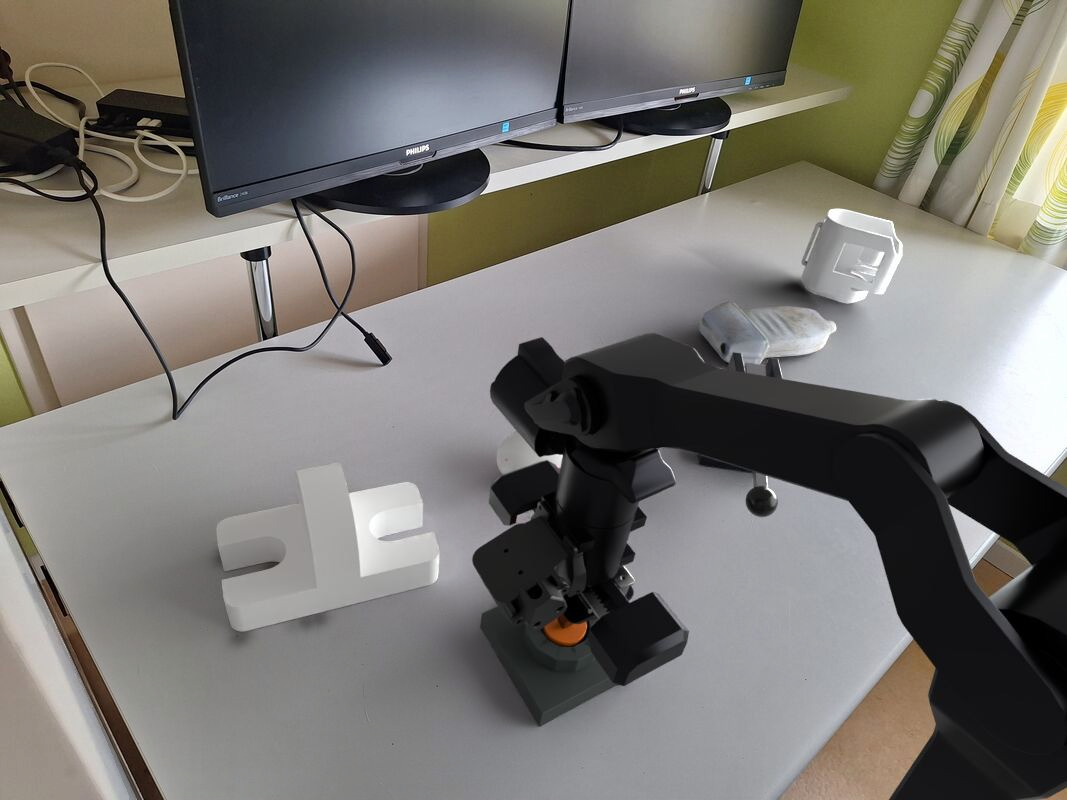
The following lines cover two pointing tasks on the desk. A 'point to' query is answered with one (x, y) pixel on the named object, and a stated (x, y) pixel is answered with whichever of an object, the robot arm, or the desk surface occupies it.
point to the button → (564, 634)
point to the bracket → (738, 365)
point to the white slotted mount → (324, 550)
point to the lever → (760, 497)
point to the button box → (545, 667)
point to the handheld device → (764, 331)
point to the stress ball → (520, 454)
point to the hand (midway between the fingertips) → (565, 623)
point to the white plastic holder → (850, 256)
